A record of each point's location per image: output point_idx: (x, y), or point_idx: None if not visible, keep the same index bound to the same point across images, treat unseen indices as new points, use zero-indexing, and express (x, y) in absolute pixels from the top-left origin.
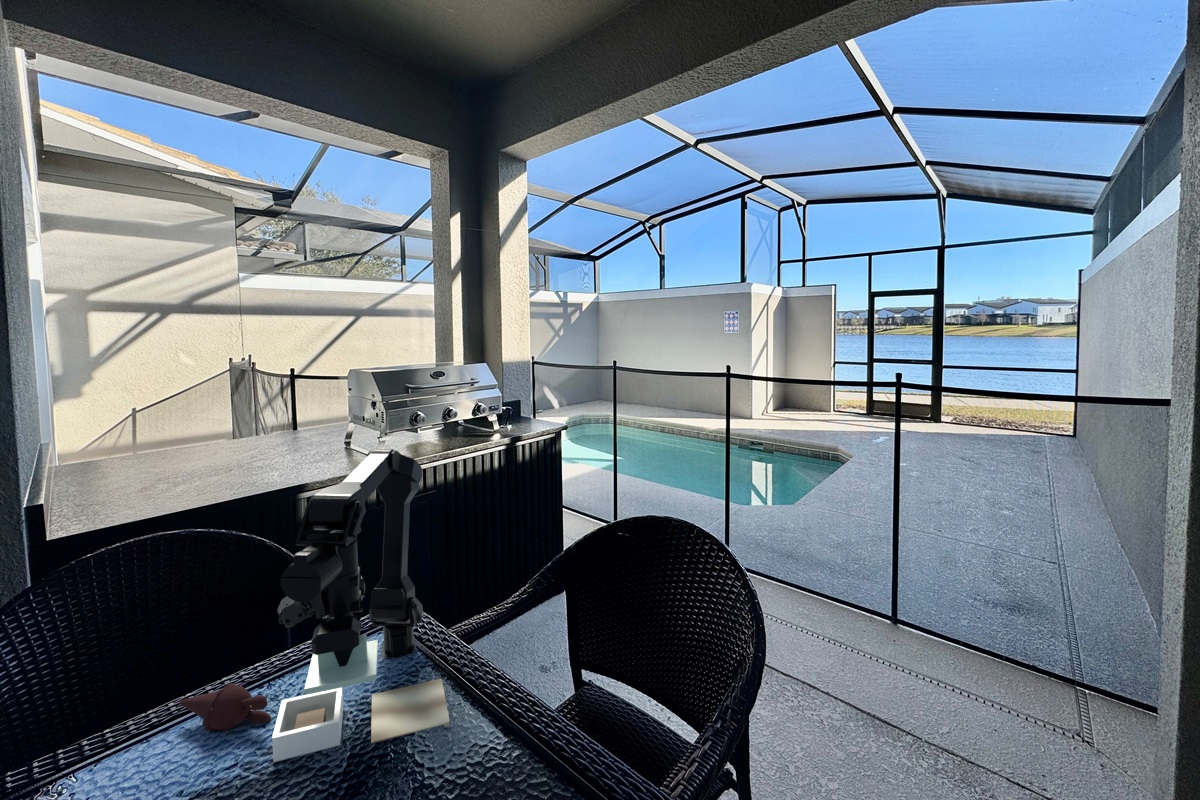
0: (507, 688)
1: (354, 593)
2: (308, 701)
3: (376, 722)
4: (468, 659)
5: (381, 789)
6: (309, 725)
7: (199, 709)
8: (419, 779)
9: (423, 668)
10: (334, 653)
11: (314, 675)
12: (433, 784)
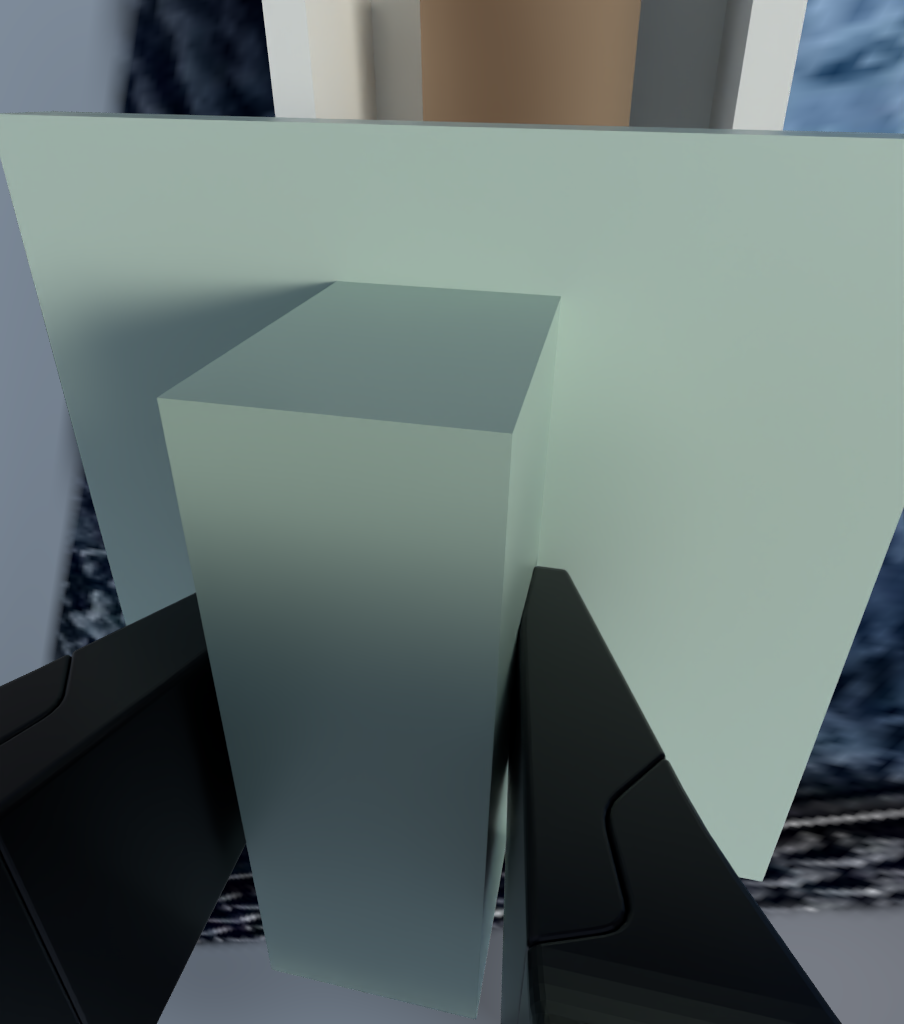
0: (500, 916)
1: None
2: (738, 48)
3: None
4: (802, 893)
5: (77, 454)
6: (442, 96)
7: None
8: (109, 579)
9: (874, 735)
10: (95, 644)
11: (266, 228)
12: (82, 612)
